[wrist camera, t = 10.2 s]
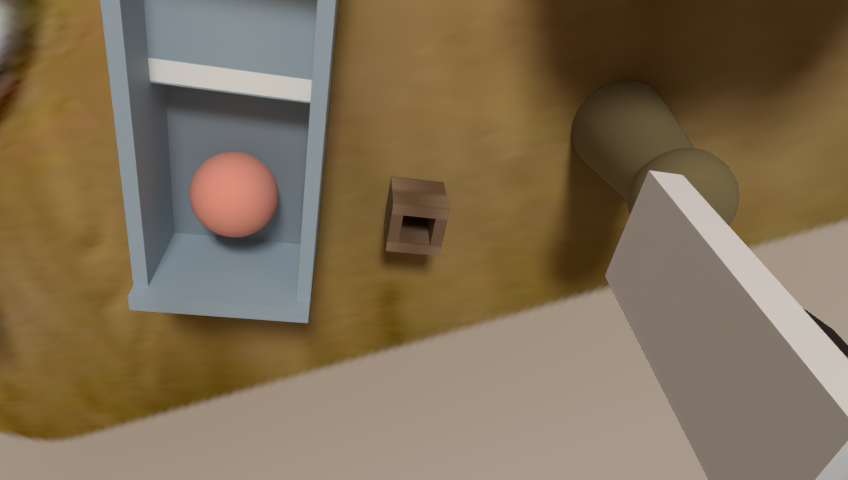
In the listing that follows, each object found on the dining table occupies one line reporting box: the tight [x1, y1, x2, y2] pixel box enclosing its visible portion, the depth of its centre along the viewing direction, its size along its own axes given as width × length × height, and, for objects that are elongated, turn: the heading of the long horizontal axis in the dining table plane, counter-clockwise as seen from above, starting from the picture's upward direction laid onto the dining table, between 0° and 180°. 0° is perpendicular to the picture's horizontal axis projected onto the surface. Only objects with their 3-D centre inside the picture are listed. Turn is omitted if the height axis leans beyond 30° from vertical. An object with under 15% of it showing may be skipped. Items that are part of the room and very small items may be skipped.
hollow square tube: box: [384, 177, 449, 256], centre depth 38 cm, size 3×3×4 cm
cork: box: [571, 80, 739, 226], centre depth 33 cm, size 6×6×11 cm
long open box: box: [100, 0, 339, 323], centre depth 30 cm, size 10×27×8 cm, turn 170°
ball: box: [189, 152, 279, 237], centre depth 35 cm, size 5×5×5 cm
